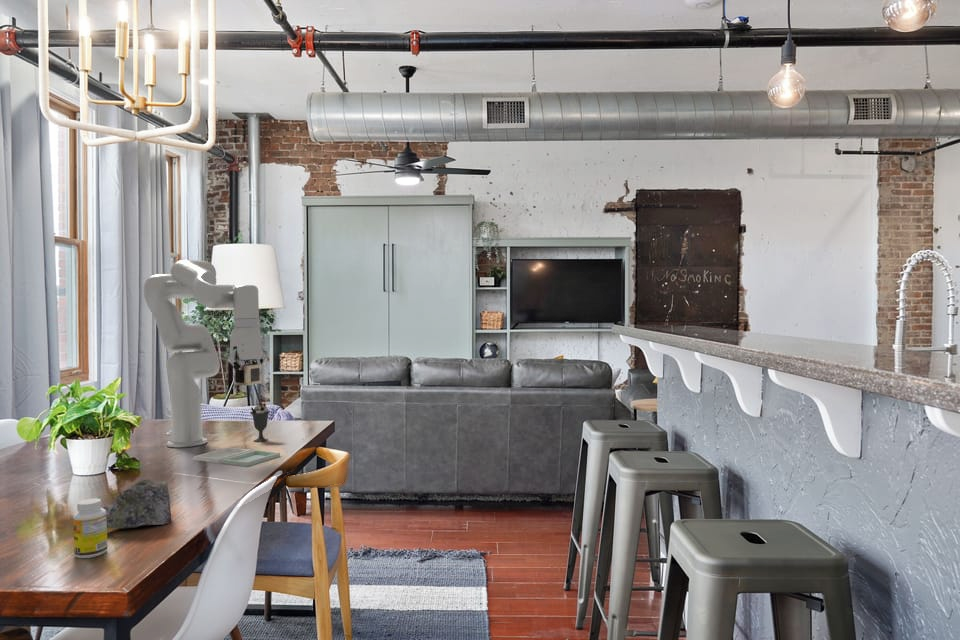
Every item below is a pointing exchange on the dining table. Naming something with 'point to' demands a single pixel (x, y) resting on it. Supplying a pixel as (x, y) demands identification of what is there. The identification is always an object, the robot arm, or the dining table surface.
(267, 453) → the tray sage
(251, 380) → the light wooden cube
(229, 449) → the tray white
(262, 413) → the sundae
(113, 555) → the dining table surface
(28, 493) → the dining table surface
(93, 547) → the supplement bottle
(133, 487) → the mineral rock
